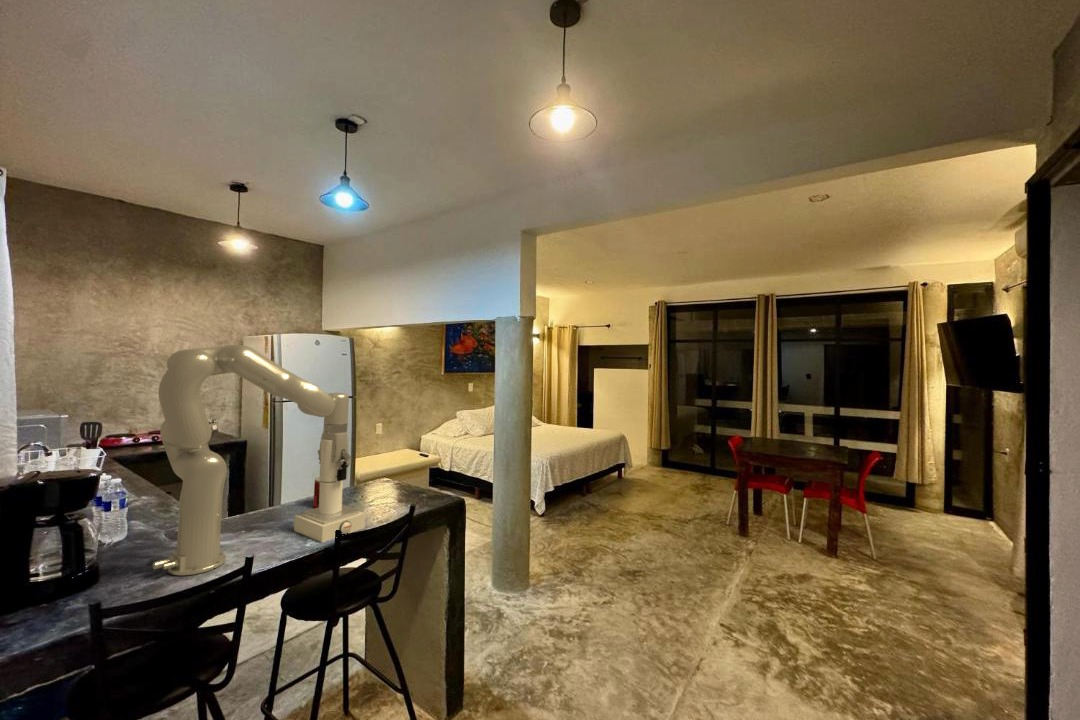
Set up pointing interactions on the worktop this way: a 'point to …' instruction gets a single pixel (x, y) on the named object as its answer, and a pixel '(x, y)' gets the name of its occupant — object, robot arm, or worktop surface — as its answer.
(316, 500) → the canned food
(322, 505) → the cylindrical container
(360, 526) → the scale base
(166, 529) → the worktop surface
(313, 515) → the scale pan
